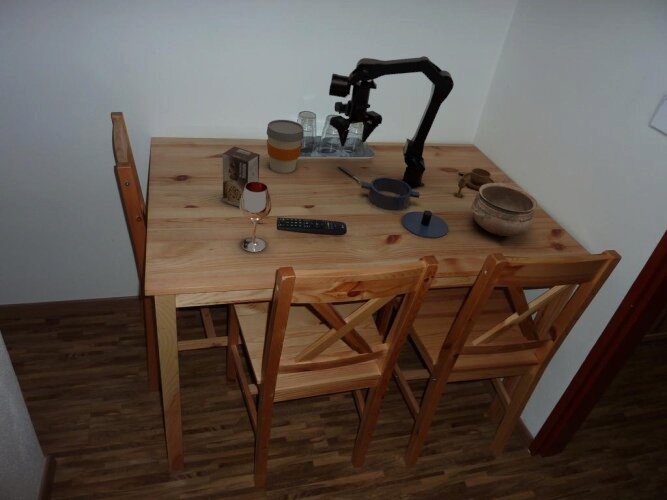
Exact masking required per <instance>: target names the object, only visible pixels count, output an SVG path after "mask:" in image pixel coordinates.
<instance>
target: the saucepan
mask: <svg viewBox="0 0 667 500" xmlns="http://www.w3.org/2000/svg"><path fill="white" fill-rule="evenodd" d="M361 182H362V183H361V189H366V190H368V194H367V200H368V201H369V203H370V204H372V205H373V206H374V207H377V208H378V209H382V210H385V211H391V212H395V211H396V212H397V211H403V210H406V209H407V208H408V206H409V205H410V201H411V198H415V199H419V198H420V191H417V190H416V191H415V190H413V189H411V187H410V186H409V185H408V184H407V183H405V182H404V181H402V180H400V179H398V178H396V177H390V176H380V177H376V178H375V177H374V178H373V179H372V180H371V181H370V182H365V181H361ZM382 192H389V193H393V194H395V195H390V194H386V193H382Z"/></svg>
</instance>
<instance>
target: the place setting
mask: <svg viewBox="0 0 667 500" xmlns="http://www.w3.org/2000/svg"><path fill="white" fill-rule="evenodd" d="M458 174H459V175H462V178H459V180H458V183H457V186H458V190H457V192H455V193H454V197H456V198H463V194H462V190H463V189H464V188H465V187H466V186H467V187H469V188H470V189H473V190H477V191H479V190H480V187H481V186H483V185H485V184H489V183H496V182H495V180H494V179H493V178H491V176H492V174H491V173H490V171H488V170H486V169H484V168H480V167H475V168H472V169H471V172H465V171H459V172H458ZM478 194H479V193H476V196H477V195H478Z"/></svg>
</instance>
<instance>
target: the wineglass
mask: <svg viewBox="0 0 667 500" xmlns="http://www.w3.org/2000/svg"><path fill="white" fill-rule="evenodd" d="M238 208H239V211H240V213H241V214H242V215H243V216H244V217H245V218H246V219H247V220H249V221H250V222H252V237H250V238H245V239H243V240H242V242H241V247H242V249H243V250H244V251H246V252H249V253H259V252H262V251H263V250H265V248H266V243H265V241H264V240H262V239H260V238H257V237H256V233H257V223H258V222H260V221H262V220H264V219H266V218H267V217H268V216H269V215H270V213H271V210H272V200H271V195H270V191H269V187H268V185H267V184H266V183H264V182H261V181H259V182H249V183H247V184H246V185H245V187H244V190H243V193H242V196H241V199H240V204H239V207H238Z"/></svg>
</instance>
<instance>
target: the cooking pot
mask: <svg viewBox="0 0 667 500" xmlns="http://www.w3.org/2000/svg"><path fill="white" fill-rule="evenodd" d="M478 191H479V192H478V193H477V194H478V195H477V194H476V196H475V198H474V199H473V201H472V203H471V210H470V213H471V215H472V217H473V220H474V221H475V222H476V224H477V225H478V226H479V227H481V228H482V229H483V230H484V231H486V232H488V233H489V234H492V235H494V236H497V237H514V236H518V235H521V234H524V233H525V232H527V231H528V229H529V228H531V226H532V224H533V222H534V220H535V209H536V208H537V207H538V202H537V200H536V198H534V197H533V195H531V194H530V193H529V192H527V191H525V190H523V189H522V188H519V187H516V186H513V185H510V184H508V183H507V184H506V183H500V182H495V183H489V184H485V185H483V186H481V187H480V190H478Z"/></svg>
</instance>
